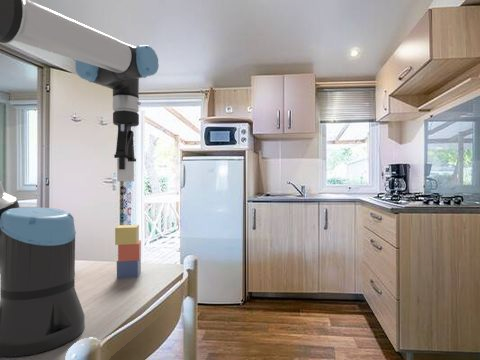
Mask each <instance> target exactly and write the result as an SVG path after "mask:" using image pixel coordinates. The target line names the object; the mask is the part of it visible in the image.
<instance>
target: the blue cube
mask: <svg viewBox="0 0 480 360" xmlns="http://www.w3.org/2000/svg"><path fill="white" fill-rule="evenodd" d="M141 258H142V257H140V260H139V261H121V262H118V260H117V261H116V279H129V278H131V279H133V277H134V278H139V276H140V274H141V272H142V270H141V269H142V267H141V266H142V261H141Z"/></svg>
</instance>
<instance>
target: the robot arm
mask: <svg viewBox="0 0 480 360" xmlns="http://www.w3.org/2000/svg"><path fill="white" fill-rule="evenodd" d="M14 41H15V42H18V43H21V44H24V45H27V46H31V47H33V48H37V49H39V50H40V49H41V50H43V51H47V52H50V53H53V54H57V55H59V56H63V57H65V58H69V59H72V60H75V63H74V64H75V66H74V67H75V72H76V74H77V75H78V77H79V78H81V79H83V80H85V81H88V82H89V83H94V84H96V85H100V86H102V87H105V88H107V89H108V88H109V89H111V90H112V111H113V112H112V124H113V125H114V126H117V135H116V136H117V137H116V150H115V154H113V156H114V157H113V158H115V159H116V160H117V162H116V166H117V168H116V169H117V171H116V176H117V177H116V178H117V182H135V162H137V158H136V157H135V146H134V144H135V143H134V142H135V141H134V135H135V134H134V131H133V130H132V127H133V128H135V127H137V126H139V125H140V114H139V111H140V110H139V109H140V107H139V106H141V101H139V100H140V99H139V98H140V97H139V89H140V87H139V86H140V83H139V82H140V81H139V80H140V79H145V78H147V77H151V76H153V75H156V73H157V72H158V70H159V58H158V53H156V50H154V48H152V46H150V45H148V44H147V45H146V44H143V45H141V44H140V45H137V46H134V45H131V44H129V43H125V42H124V41H121V40H119V39H117V38H115V37H112V36H110V35H108V34H106V33H104V32H101V31H99V30H97V29H95V28H92V27H90V26H88V25H85V24H83V23H81V22H78V21H76V20H74V19H72V18H70V17H67V16H65V15H63V14H61V13H58V12H57V11H54V10H52V9H49V8H48V7H46V6H43V5H41V4H39V3H37V2H33V1H32V0H0V44H5V45H7V44H11V43H12V42H14ZM76 234H77V232H76V229H75V219H74V216H73V215H72V213H70V212H68V211H67V210H65V209H60V208H53V207H42V206H41V207H39V206H38V207H37V206H33V207H31V206H27V207H20V205H19V201H18V198H17V197H16V196H14V195H11V194H9V193H7V192H6V191H5V189H4V187H3V183H2V181H1V179H0V357H4V358H7V357H9V358H12V357H23V356H22V355H25V356H29V355H30V354H31V355H35V354H39V353H44V352H47V351H50V350H53V349H56V348H58V347H61V346H63V345H65V344H68V343H70V342H71V341H73V340H75V339H76V338H78V337H79V336H80V335H81V334H82V333H83V331H84V330H85V326H86V325H85V323H86V322H85V319H86V316H85V313H84V310H83V307H82V303H81V301H80V299H79V296H78V293H77V291H76V289H75V287H76V286H75V280H76V279H75V277H76V268H75V267H76V263H75V261H76V260H75V259H76V257H75V256H76Z"/></svg>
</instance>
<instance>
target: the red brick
mask: <svg viewBox="0 0 480 360" xmlns="http://www.w3.org/2000/svg"><path fill="white" fill-rule="evenodd" d="M141 256H142V240H140V239H139V241H138V242H137V244H125V245H117V261H118V262H121V261H139V260H140V257H141ZM141 258H142V257H141Z"/></svg>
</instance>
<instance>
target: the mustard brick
mask: <svg viewBox="0 0 480 360" xmlns="http://www.w3.org/2000/svg"><path fill="white" fill-rule="evenodd" d="M139 227H140V225H139V224H121V225H120V224H119V225H117V226H116V227H115V228H114V235H115V236H114V245H115V246H116V245H117V246H118V245H125V244H137V242H138V241H139V240H140V238H139V237H140V231H139Z"/></svg>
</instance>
